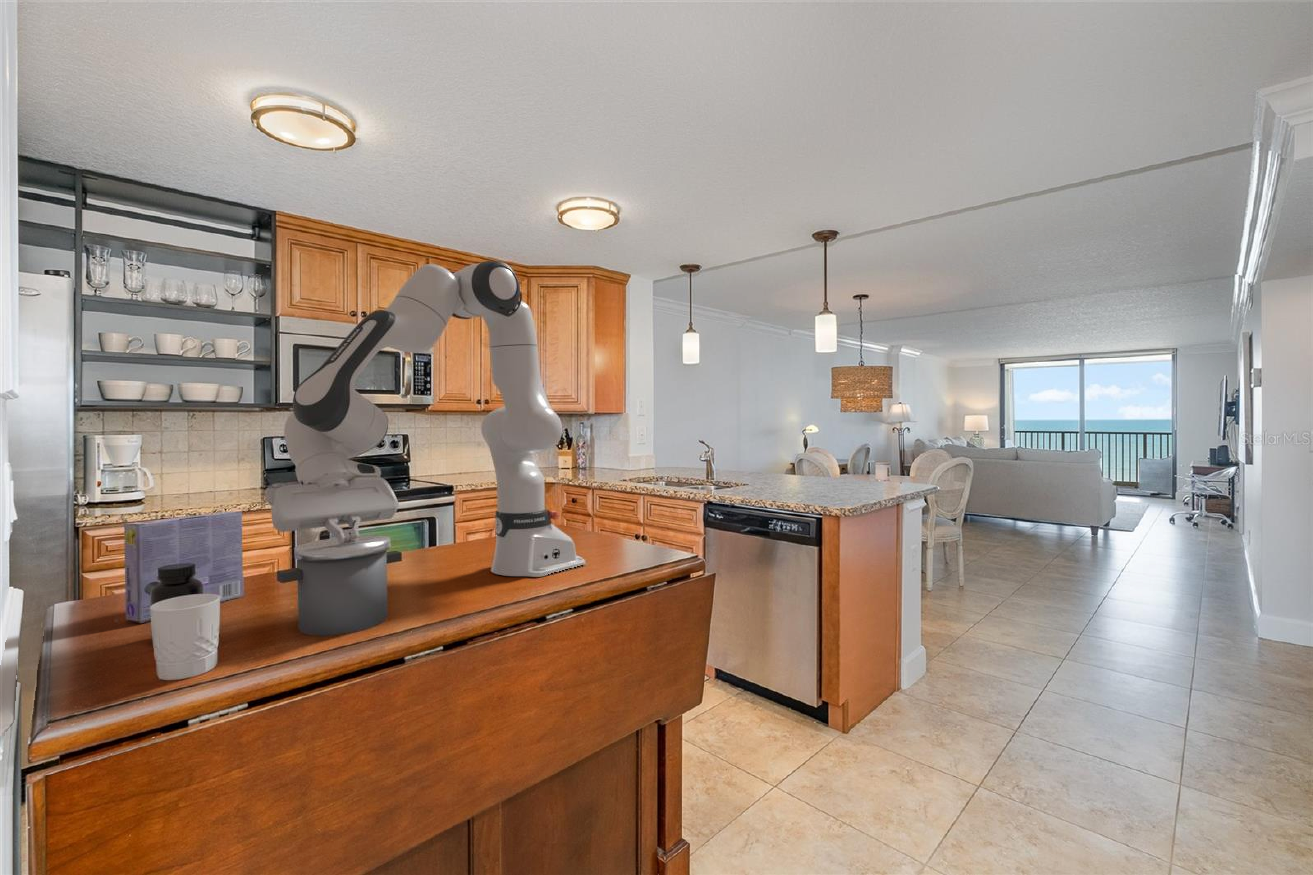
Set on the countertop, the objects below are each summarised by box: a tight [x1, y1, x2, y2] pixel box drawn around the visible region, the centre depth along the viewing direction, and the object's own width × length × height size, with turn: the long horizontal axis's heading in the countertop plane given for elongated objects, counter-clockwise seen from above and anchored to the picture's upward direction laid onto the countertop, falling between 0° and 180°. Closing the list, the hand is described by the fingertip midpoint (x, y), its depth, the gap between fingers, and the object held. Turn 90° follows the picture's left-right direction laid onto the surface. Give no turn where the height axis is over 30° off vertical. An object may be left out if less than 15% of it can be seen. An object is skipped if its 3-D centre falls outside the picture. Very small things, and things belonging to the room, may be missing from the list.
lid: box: [293, 535, 392, 561], centre depth 105 cm, size 15×15×2 cm
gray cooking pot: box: [276, 550, 403, 637], centre depth 105 cm, size 20×14×12 cm
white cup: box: [150, 594, 221, 681], centre depth 85 cm, size 8×8×10 cm
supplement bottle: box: [150, 563, 203, 643], centre depth 98 cm, size 7×7×12 cm
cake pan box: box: [123, 510, 244, 624], centre depth 114 cm, size 19×5×18 cm, turn 157°
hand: (349, 540), depth 103 cm, fingers closed, pressing on lid
